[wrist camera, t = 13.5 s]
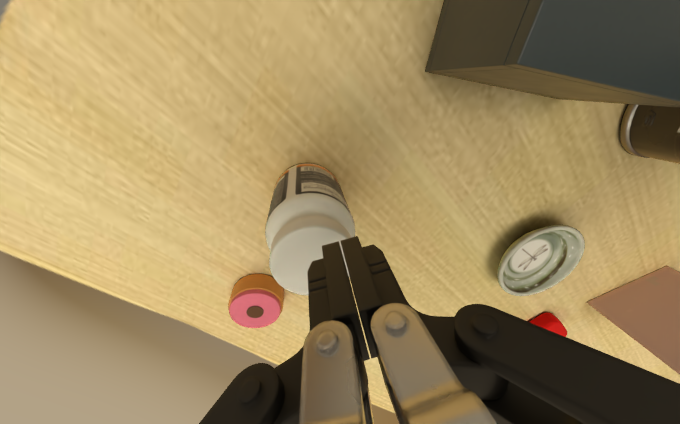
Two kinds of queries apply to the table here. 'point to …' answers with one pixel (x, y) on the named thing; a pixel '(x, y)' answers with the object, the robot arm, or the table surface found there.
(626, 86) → the cabinet
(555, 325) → the popsicle
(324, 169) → the pill bottle
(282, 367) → the robot arm
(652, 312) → the greeting card
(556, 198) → the table surface
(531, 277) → the saucer
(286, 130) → the table surface
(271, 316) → the donut
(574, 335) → the table surface
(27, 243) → the table surface
